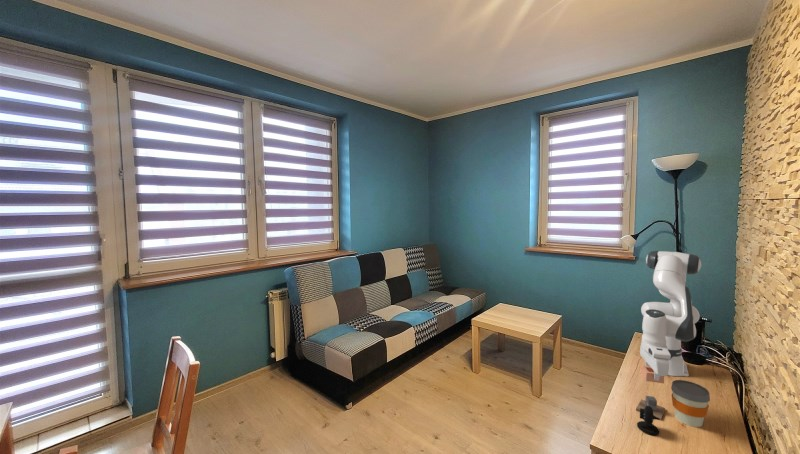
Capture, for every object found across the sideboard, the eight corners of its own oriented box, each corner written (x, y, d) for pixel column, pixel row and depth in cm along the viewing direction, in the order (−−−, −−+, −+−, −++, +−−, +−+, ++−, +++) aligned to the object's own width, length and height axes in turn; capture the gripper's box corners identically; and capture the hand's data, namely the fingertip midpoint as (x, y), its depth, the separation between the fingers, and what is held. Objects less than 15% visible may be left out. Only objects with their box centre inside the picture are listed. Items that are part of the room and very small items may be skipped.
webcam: (637, 420, 139) (638, 399, 139) (659, 428, 135) (660, 405, 134) (636, 430, 133) (637, 408, 133) (659, 438, 129) (660, 415, 128)
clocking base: (641, 401, 153) (641, 389, 152) (665, 410, 146) (665, 397, 145) (636, 410, 146) (636, 398, 146) (660, 420, 139) (661, 407, 139)
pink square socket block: (640, 373, 149) (640, 365, 149) (657, 375, 147) (657, 367, 147) (646, 381, 143) (646, 372, 142) (663, 383, 141) (664, 374, 140)
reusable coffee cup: (662, 410, 146) (664, 379, 145) (690, 410, 145) (692, 379, 144) (686, 430, 133) (688, 396, 132) (716, 430, 133) (719, 396, 132)
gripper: (636, 335, 154) (635, 363, 155) (654, 355, 135) (653, 386, 136) (652, 337, 152) (650, 364, 153) (672, 357, 133) (671, 388, 134)
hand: (652, 375), depth 145 cm, fingers closed on pink square socket block, 7 cm apart
